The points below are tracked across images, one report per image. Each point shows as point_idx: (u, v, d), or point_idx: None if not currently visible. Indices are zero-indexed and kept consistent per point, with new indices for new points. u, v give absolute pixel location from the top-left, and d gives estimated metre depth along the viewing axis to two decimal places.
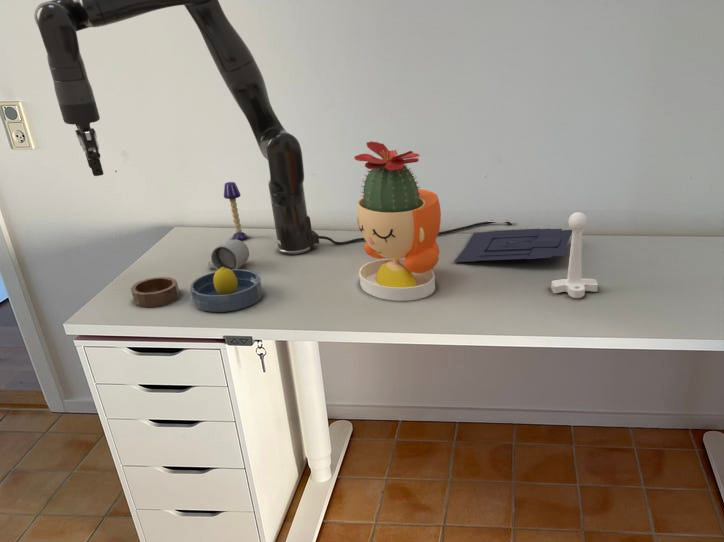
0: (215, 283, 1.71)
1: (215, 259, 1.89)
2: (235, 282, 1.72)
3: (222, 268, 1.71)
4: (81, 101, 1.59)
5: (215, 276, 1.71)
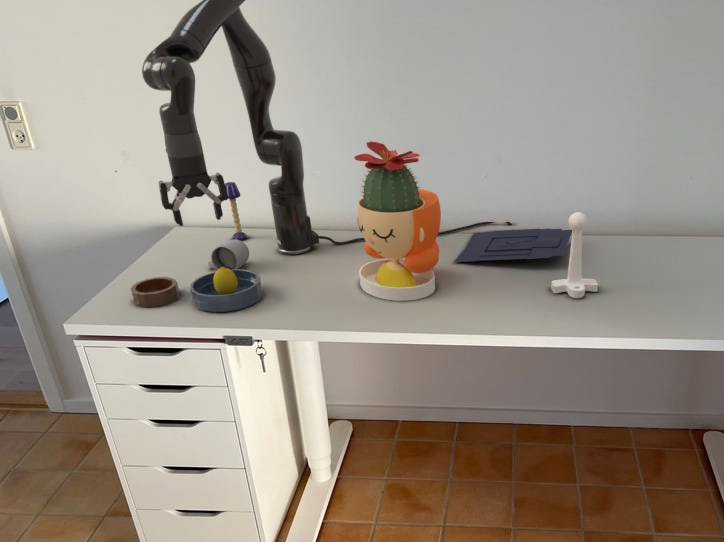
0: (215, 283, 1.71)
1: (215, 259, 1.89)
2: (235, 282, 1.72)
3: (222, 268, 1.71)
4: (168, 154, 1.56)
5: (215, 276, 1.71)
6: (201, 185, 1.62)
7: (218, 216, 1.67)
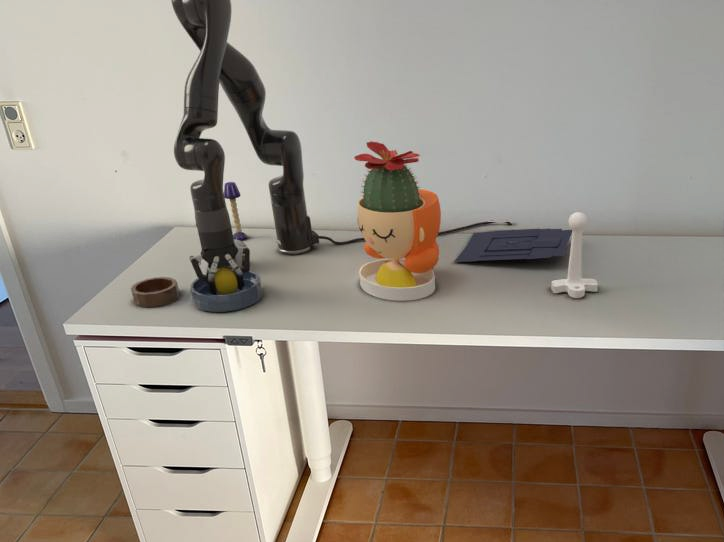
0: (215, 283, 1.71)
1: None
2: (235, 282, 1.72)
3: (222, 268, 1.71)
4: (198, 228, 1.64)
5: (215, 276, 1.71)
6: (229, 256, 1.69)
7: (240, 287, 1.74)
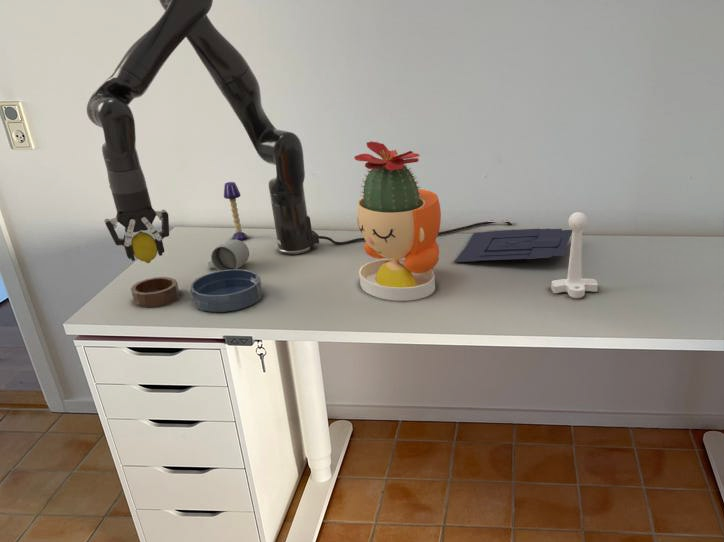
0: (133, 248, 1.67)
1: (215, 259, 1.89)
2: (154, 247, 1.69)
3: (140, 232, 1.67)
4: (111, 190, 1.60)
5: (132, 240, 1.67)
6: (146, 219, 1.65)
7: (160, 252, 1.71)
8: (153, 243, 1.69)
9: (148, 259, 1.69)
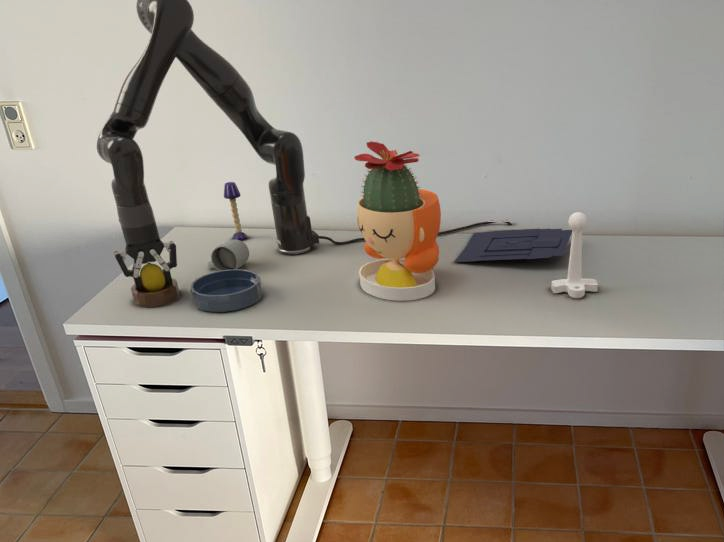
0: (141, 279, 1.71)
1: (215, 259, 1.89)
2: (162, 277, 1.73)
3: (148, 264, 1.71)
4: (121, 224, 1.64)
5: (141, 272, 1.71)
6: (154, 251, 1.69)
7: (168, 282, 1.75)
8: (161, 274, 1.73)
9: (156, 289, 1.73)
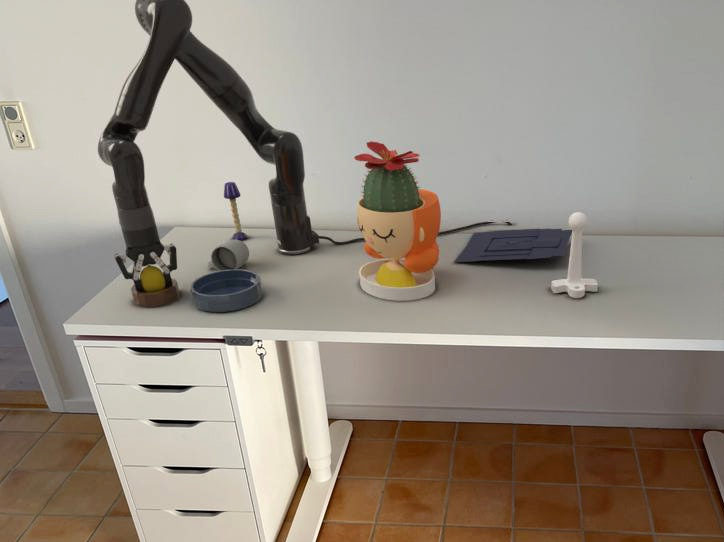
0: (141, 281, 1.71)
1: (215, 259, 1.89)
2: (162, 280, 1.73)
3: (148, 266, 1.71)
4: (121, 226, 1.64)
5: (141, 274, 1.71)
6: (154, 254, 1.69)
7: (168, 285, 1.75)
8: (161, 276, 1.73)
9: None
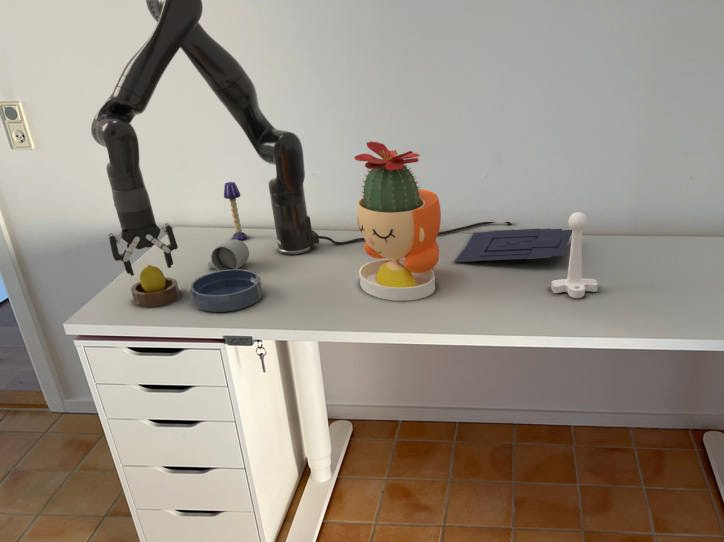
0: (141, 281, 1.71)
1: (215, 259, 1.89)
2: (162, 280, 1.73)
3: (148, 266, 1.71)
4: (116, 208, 1.62)
5: (141, 274, 1.71)
6: (150, 236, 1.67)
7: (168, 264, 1.73)
8: (161, 276, 1.73)
9: None
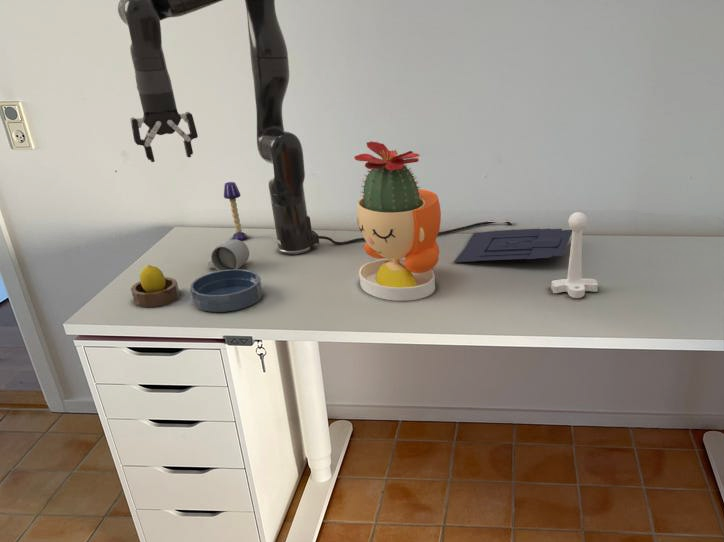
0: (141, 281, 1.71)
1: (215, 259, 1.89)
2: (162, 280, 1.73)
3: (148, 266, 1.71)
4: (139, 90, 1.65)
5: (141, 274, 1.71)
6: (171, 122, 1.70)
7: (188, 153, 1.76)
8: (161, 276, 1.73)
9: None
